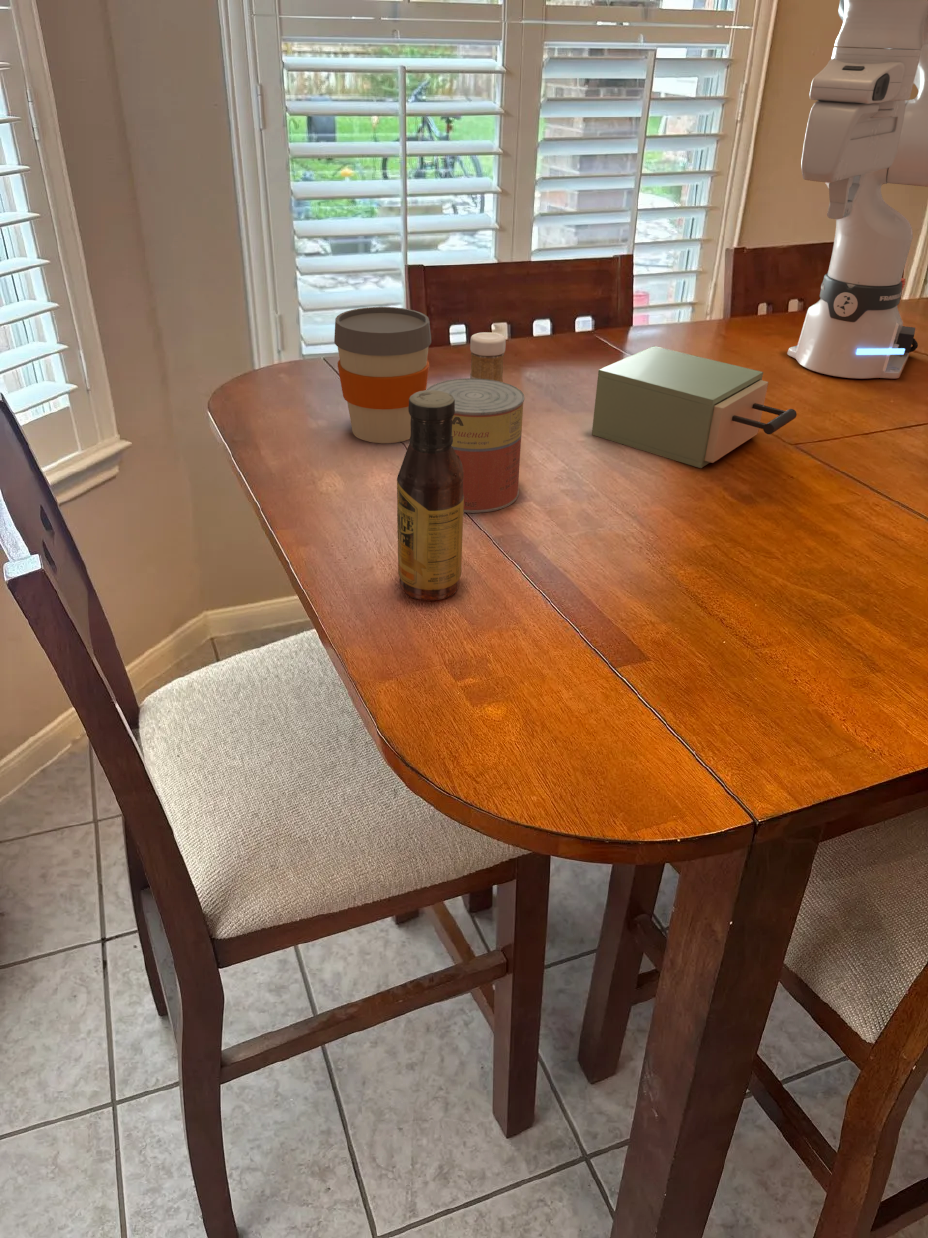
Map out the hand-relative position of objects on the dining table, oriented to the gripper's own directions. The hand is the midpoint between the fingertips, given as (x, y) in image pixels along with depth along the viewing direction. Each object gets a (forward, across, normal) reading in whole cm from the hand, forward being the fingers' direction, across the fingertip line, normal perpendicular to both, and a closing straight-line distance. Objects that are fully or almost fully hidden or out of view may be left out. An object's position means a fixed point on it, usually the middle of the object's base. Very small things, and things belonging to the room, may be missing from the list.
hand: (838, 217), depth 107 cm
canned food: (+29, +38, -23) cm, 53 cm away
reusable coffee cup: (+29, +31, -44) cm, 61 cm away
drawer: (+28, +5, -9) cm, 30 cm away
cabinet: (+29, +6, -14) cm, 33 cm away
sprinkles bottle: (+29, +23, -33) cm, 50 cm away
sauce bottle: (+29, +58, -12) cm, 66 cm away
